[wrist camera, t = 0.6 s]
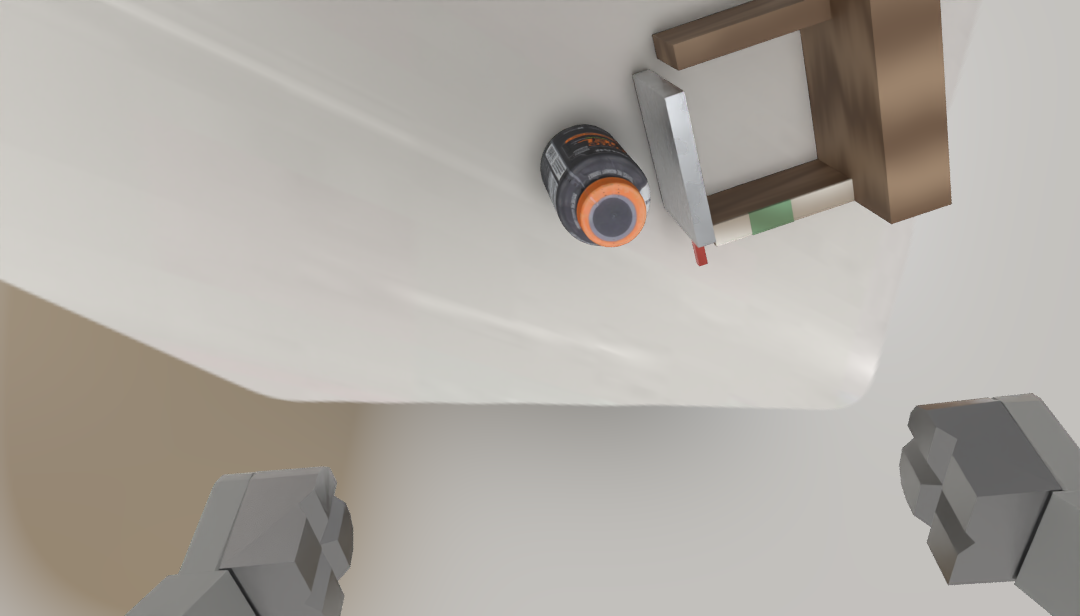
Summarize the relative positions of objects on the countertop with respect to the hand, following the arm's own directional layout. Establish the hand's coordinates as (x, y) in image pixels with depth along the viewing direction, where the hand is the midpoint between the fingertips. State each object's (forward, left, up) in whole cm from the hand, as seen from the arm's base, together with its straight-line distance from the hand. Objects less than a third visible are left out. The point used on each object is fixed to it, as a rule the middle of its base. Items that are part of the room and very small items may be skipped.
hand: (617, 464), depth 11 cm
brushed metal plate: (+12, +11, -45) cm, 47 cm away
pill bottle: (+10, +5, -45) cm, 47 cm away
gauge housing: (+10, +18, -45) cm, 50 cm away
